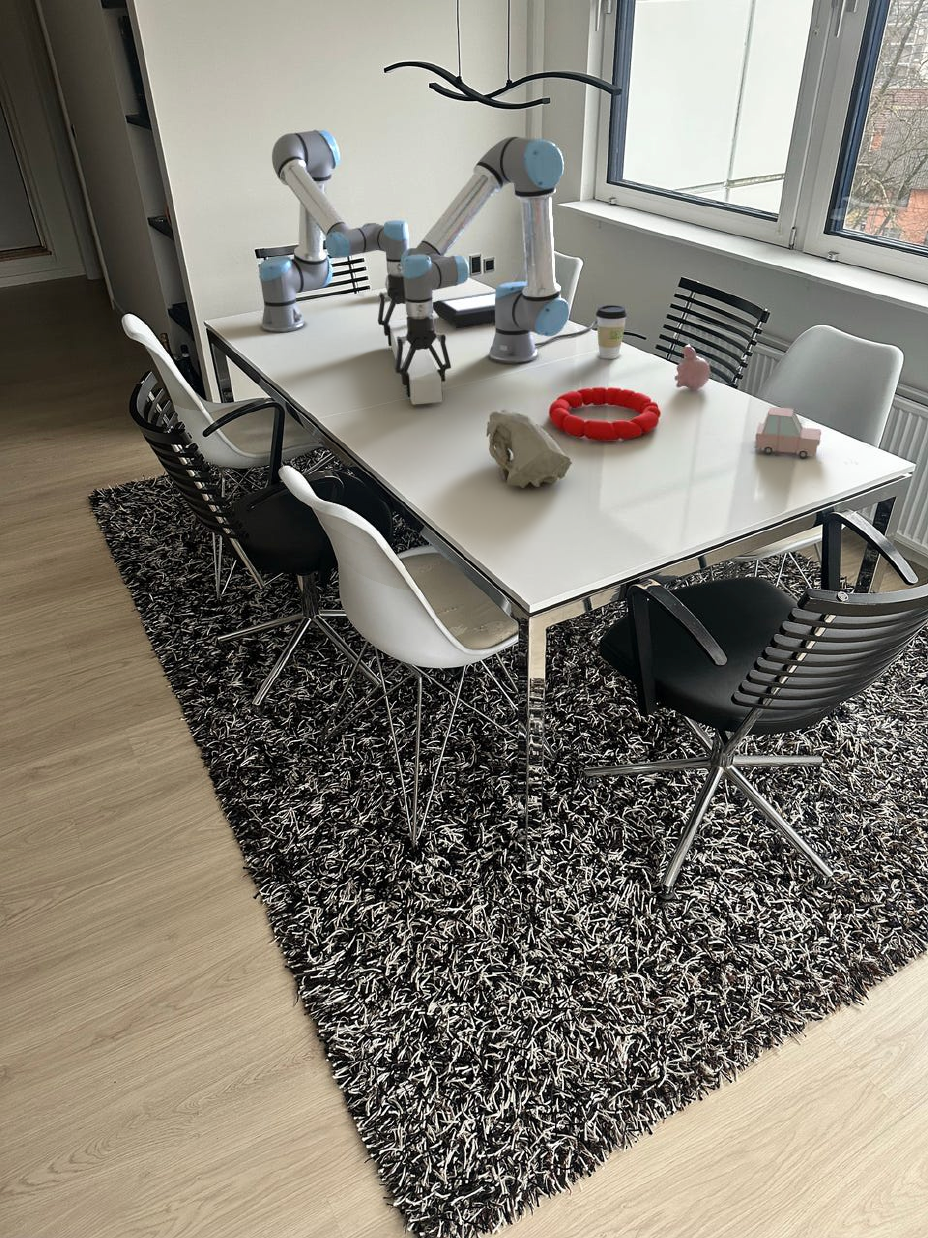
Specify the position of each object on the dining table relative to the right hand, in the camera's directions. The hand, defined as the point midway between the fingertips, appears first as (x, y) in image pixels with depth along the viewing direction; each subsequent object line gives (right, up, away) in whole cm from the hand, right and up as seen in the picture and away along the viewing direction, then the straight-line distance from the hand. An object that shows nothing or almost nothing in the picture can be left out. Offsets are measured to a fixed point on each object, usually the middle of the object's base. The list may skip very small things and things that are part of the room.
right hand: (424, 394), depth 259 cm
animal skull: (+26, -29, -39) cm, 55 cm away
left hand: (-9, +27, +39) cm, 49 cm away
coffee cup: (+59, +20, +30) cm, 69 cm away
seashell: (-13, +63, +97) cm, 116 cm away
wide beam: (-4, +13, +20) cm, 24 cm away
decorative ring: (+50, -12, -15) cm, 53 cm away
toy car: (+93, -23, -34) cm, 101 cm away
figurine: (+78, +2, +4) cm, 78 cm away
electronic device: (+19, +45, +69) cm, 85 cm away
